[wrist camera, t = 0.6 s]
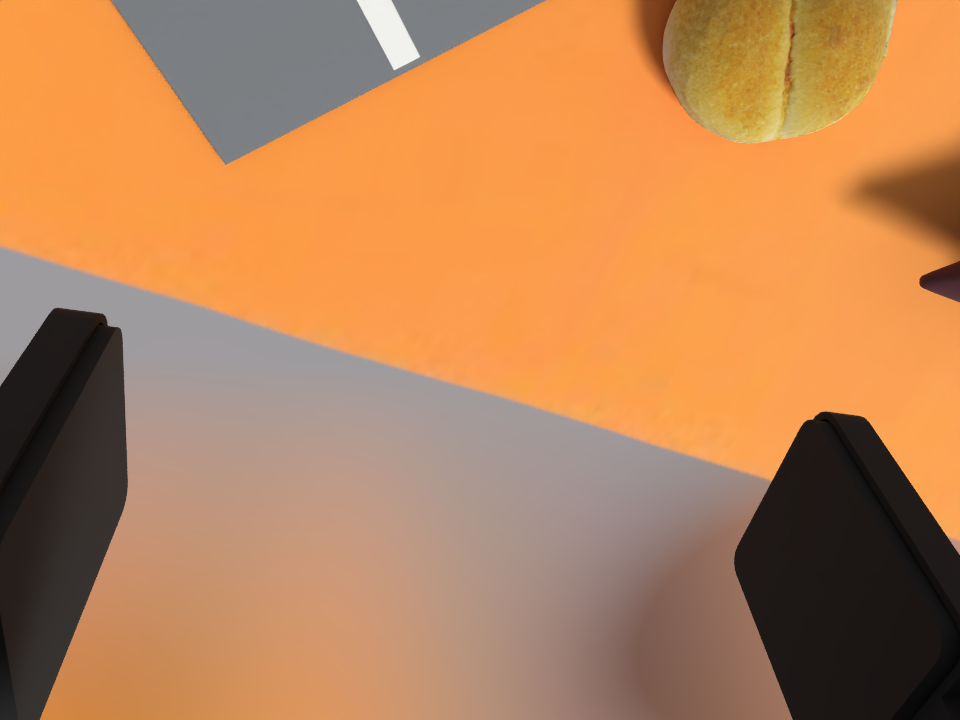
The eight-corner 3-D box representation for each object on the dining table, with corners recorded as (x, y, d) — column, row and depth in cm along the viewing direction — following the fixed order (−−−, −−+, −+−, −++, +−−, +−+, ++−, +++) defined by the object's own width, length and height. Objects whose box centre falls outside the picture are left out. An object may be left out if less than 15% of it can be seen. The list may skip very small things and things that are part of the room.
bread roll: (661, -62, 34) (688, -43, 30) (886, -82, 34) (938, -67, 30) (652, 141, 38) (675, 176, 35) (850, 122, 38) (891, 155, 35)
